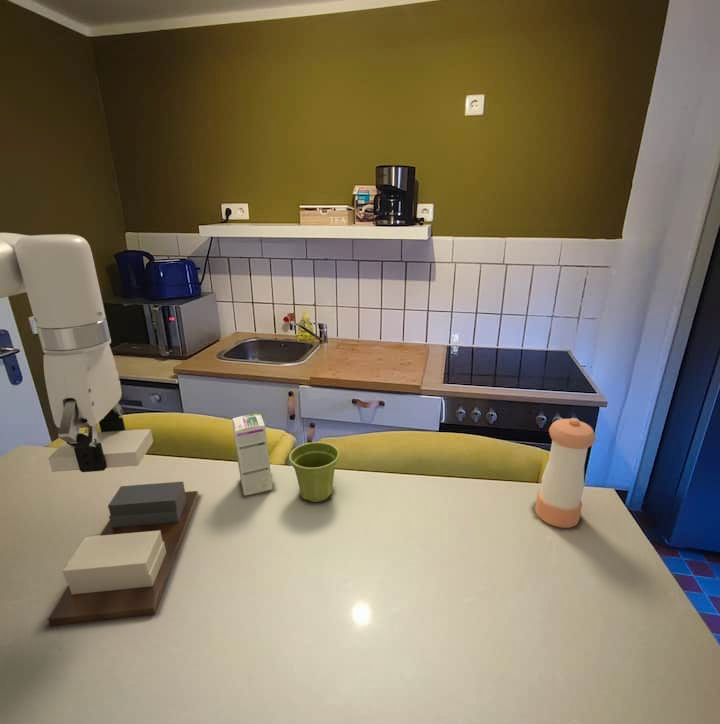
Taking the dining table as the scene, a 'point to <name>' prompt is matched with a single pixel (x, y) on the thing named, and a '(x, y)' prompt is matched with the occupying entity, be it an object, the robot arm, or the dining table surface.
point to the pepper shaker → (564, 473)
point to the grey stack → (147, 504)
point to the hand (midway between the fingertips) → (105, 454)
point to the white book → (108, 450)
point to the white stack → (115, 562)
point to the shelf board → (132, 599)
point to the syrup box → (252, 453)
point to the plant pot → (314, 469)
